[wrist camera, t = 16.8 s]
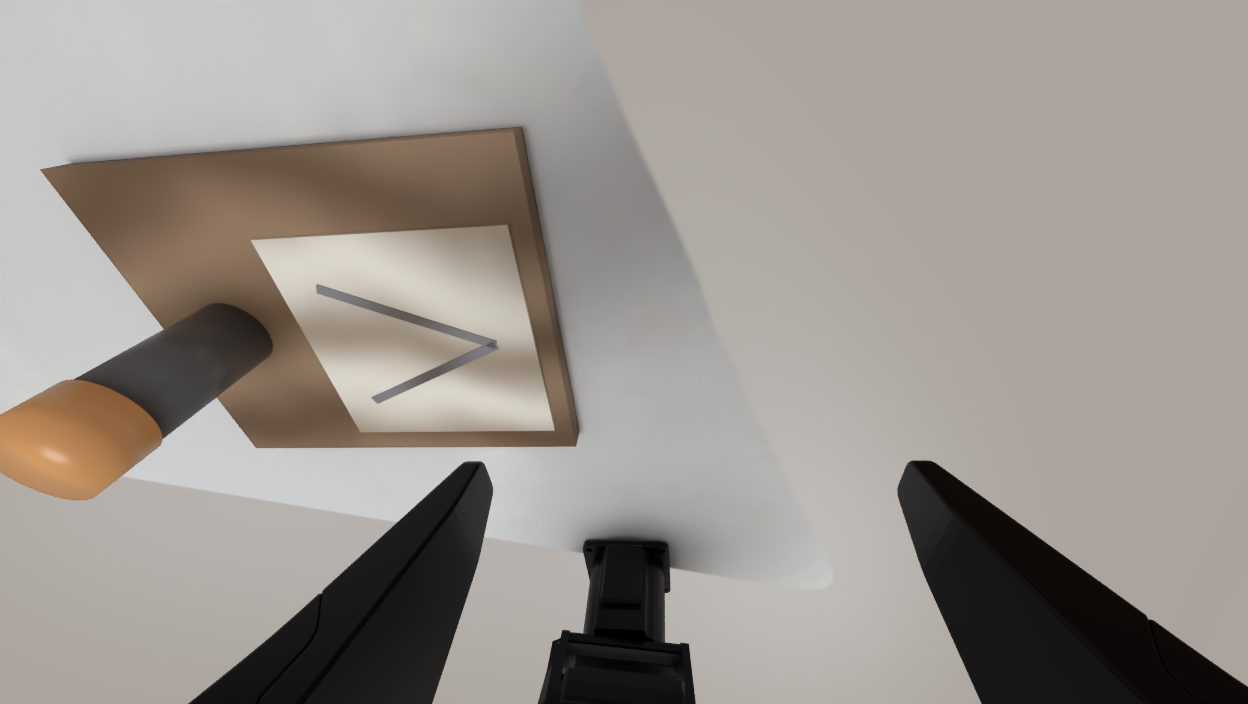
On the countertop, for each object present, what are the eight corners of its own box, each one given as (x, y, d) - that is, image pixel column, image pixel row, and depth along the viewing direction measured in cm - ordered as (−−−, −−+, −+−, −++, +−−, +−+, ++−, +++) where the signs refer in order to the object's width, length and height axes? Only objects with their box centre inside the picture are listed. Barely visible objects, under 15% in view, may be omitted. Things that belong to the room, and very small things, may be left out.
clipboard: (579, 431, 27) (575, 449, 26) (269, 434, 29) (253, 451, 28) (521, 126, 18) (511, 132, 17) (70, 163, 20) (32, 170, 19)
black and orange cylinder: (289, 362, 24) (123, 500, 17) (225, 364, 24) (35, 499, 17) (250, 299, 22) (39, 425, 14) (180, 301, 22) (-60, 426, 15)
